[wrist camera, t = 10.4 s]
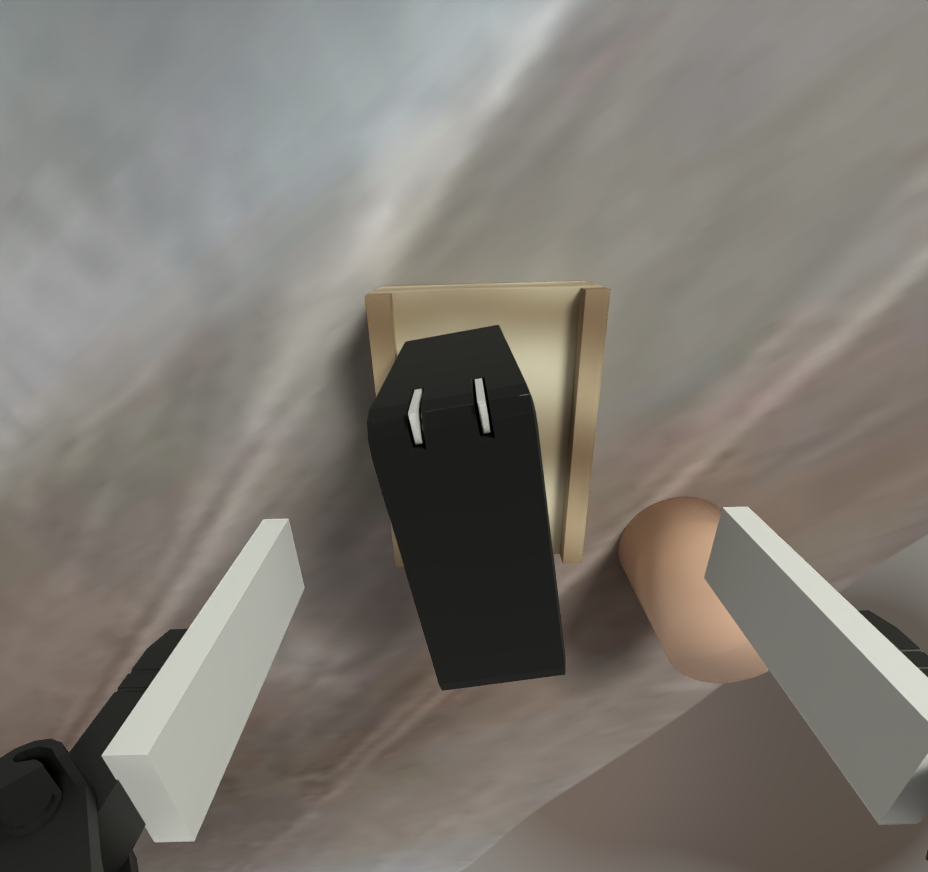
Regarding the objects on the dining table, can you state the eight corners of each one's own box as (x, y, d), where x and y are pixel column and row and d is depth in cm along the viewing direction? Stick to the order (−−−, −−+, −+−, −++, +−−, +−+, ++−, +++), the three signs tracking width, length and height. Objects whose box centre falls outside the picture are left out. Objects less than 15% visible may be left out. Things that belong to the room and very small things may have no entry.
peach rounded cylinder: (625, 498, 27) (678, 580, 20) (741, 495, 27) (830, 576, 20) (612, 587, 29) (655, 684, 23) (717, 584, 29) (788, 680, 23)
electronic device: (448, 523, 23) (441, 704, 14) (405, 337, 19) (357, 425, 10) (526, 510, 23) (570, 687, 14) (499, 320, 19) (536, 394, 10)
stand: (379, 286, 21) (364, 295, 18) (585, 280, 21) (610, 289, 18) (403, 525, 27) (395, 567, 24) (565, 521, 27) (581, 562, 24)
